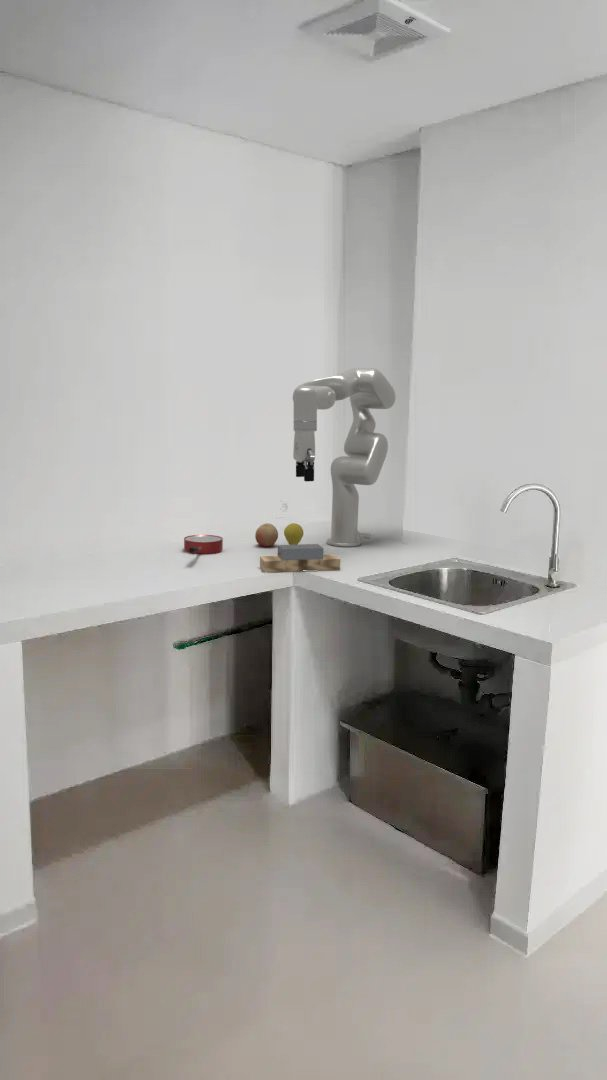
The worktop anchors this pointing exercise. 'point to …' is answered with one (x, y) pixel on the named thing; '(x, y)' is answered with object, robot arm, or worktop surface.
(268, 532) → the fruit
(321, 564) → the light brown long block
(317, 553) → the brushed steel slab
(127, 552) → the worktop surface
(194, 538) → the frying pan
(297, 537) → the light bulb
